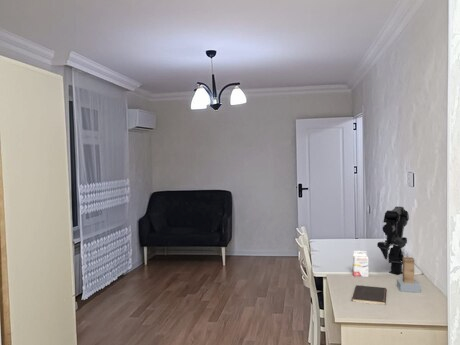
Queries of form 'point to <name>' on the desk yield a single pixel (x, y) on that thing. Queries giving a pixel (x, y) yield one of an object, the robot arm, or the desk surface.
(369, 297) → the hardcover book
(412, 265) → the walnut post
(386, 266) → the desk surface
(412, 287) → the slate plinth
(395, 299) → the desk surface
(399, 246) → the robot arm
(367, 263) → the ink cartridge box
